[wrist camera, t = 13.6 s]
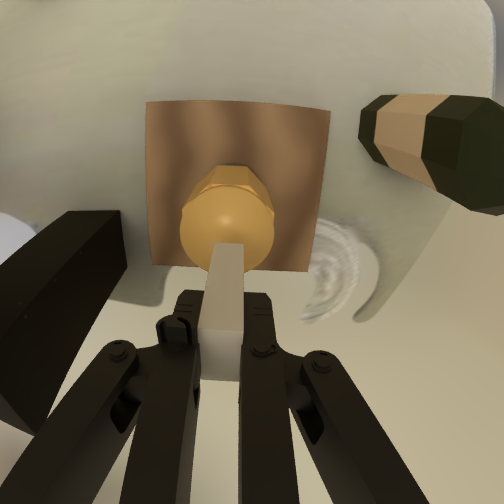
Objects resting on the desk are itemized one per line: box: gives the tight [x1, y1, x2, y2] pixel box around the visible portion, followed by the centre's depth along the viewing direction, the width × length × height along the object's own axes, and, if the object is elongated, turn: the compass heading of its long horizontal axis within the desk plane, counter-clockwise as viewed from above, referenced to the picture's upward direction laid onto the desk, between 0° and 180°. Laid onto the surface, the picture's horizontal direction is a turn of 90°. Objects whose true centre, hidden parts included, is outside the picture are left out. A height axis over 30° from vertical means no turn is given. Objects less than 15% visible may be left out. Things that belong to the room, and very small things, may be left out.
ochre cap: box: [180, 165, 275, 273], centre depth 22 cm, size 6×6×8 cm
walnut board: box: [145, 100, 331, 272], centre depth 30 cm, size 18×18×2 cm
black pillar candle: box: [0, 210, 127, 436], centre depth 20 cm, size 8×8×28 cm
